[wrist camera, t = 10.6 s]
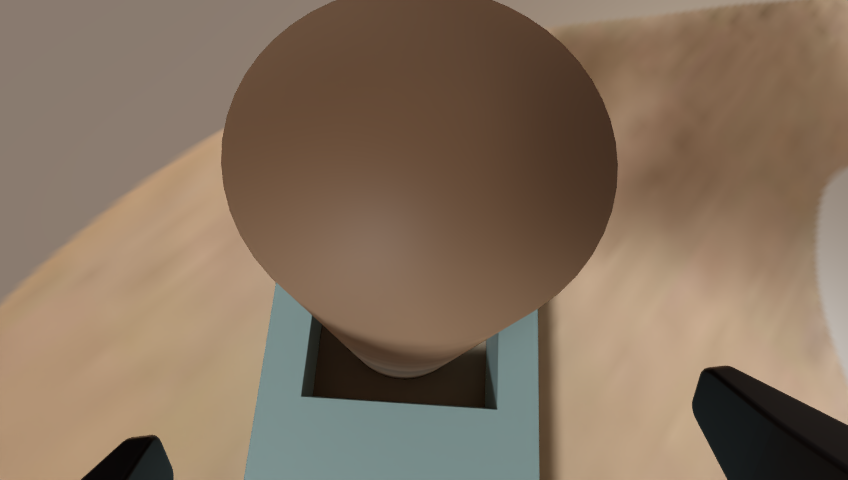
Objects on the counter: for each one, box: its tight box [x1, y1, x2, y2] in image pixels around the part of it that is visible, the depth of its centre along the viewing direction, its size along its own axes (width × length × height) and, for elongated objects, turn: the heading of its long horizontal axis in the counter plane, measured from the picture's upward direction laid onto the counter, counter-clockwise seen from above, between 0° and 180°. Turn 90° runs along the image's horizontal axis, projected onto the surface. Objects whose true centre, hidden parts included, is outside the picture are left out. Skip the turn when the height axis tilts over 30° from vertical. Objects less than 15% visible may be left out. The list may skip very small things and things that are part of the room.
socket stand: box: [244, 283, 539, 480], centre depth 18 cm, size 20×10×2 cm, turn 176°
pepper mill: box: [221, 0, 618, 379], centre depth 13 cm, size 5×5×15 cm
